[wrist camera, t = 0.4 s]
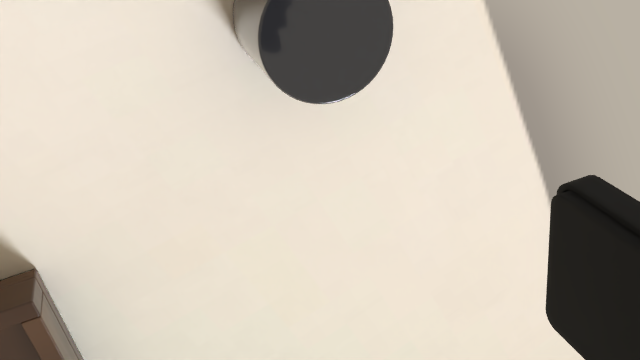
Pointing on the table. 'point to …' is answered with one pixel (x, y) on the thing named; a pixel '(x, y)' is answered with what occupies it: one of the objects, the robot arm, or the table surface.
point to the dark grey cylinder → (316, 44)
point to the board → (32, 322)
